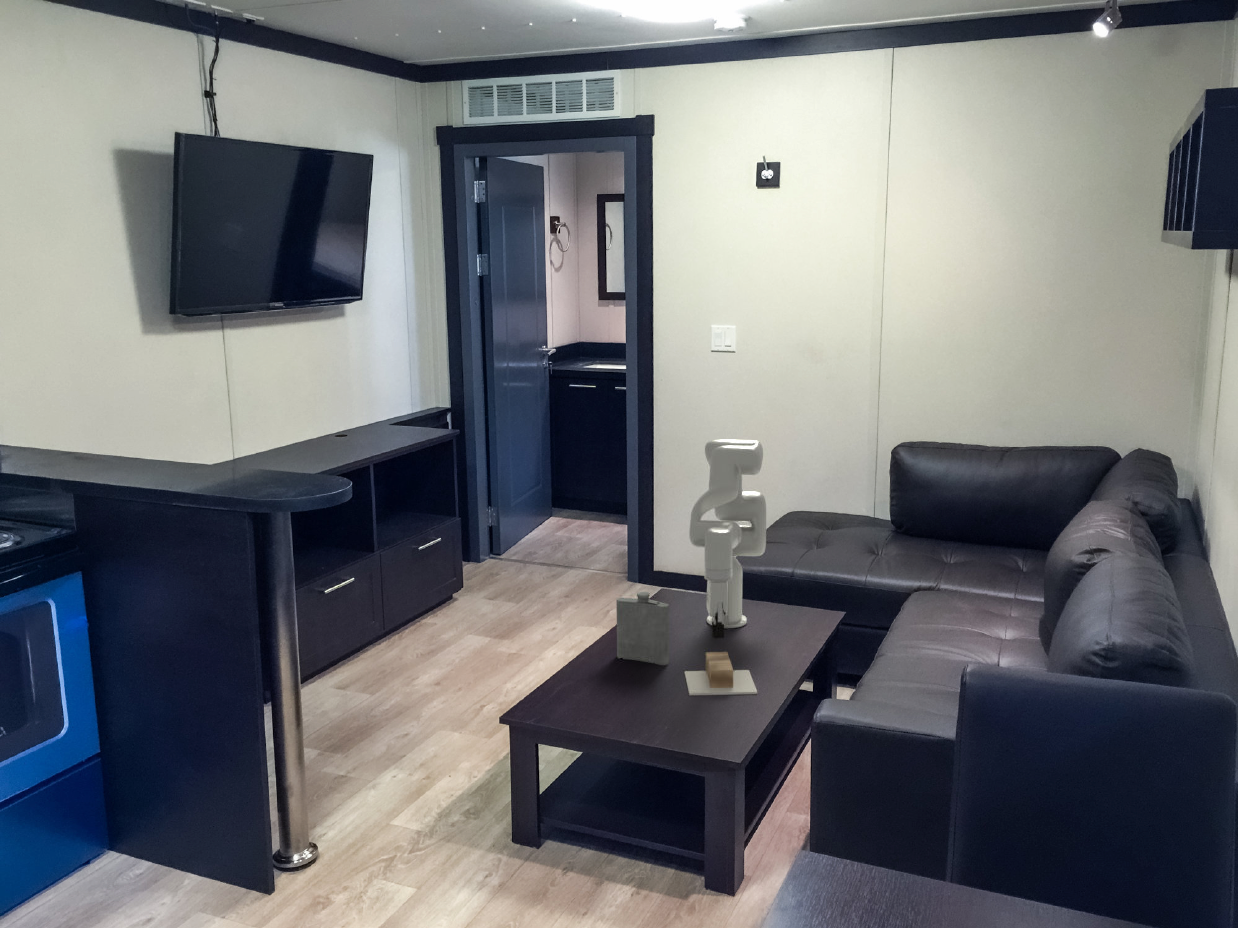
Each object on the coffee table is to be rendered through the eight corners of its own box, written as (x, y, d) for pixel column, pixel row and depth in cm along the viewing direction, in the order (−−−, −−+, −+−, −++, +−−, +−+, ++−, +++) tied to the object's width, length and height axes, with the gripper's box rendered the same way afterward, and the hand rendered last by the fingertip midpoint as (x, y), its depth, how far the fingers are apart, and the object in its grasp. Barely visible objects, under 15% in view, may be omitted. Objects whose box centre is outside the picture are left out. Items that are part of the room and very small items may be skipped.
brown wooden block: (705, 652, 294) (710, 670, 282) (727, 651, 295) (733, 669, 282) (705, 669, 295) (710, 687, 283) (726, 668, 296) (733, 687, 283)
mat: (684, 673, 294) (684, 671, 294) (748, 671, 295) (748, 669, 295) (689, 695, 280) (689, 693, 279) (757, 693, 280) (757, 691, 280)
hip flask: (615, 657, 306) (614, 591, 302) (621, 652, 310) (620, 587, 306) (666, 665, 300) (666, 598, 296) (671, 660, 303) (671, 594, 299)
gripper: (701, 565, 294) (701, 627, 298) (707, 581, 279) (707, 647, 283) (728, 564, 294) (728, 627, 298) (735, 581, 280) (735, 646, 283)
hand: (717, 636), depth 290 cm, fingers closed
